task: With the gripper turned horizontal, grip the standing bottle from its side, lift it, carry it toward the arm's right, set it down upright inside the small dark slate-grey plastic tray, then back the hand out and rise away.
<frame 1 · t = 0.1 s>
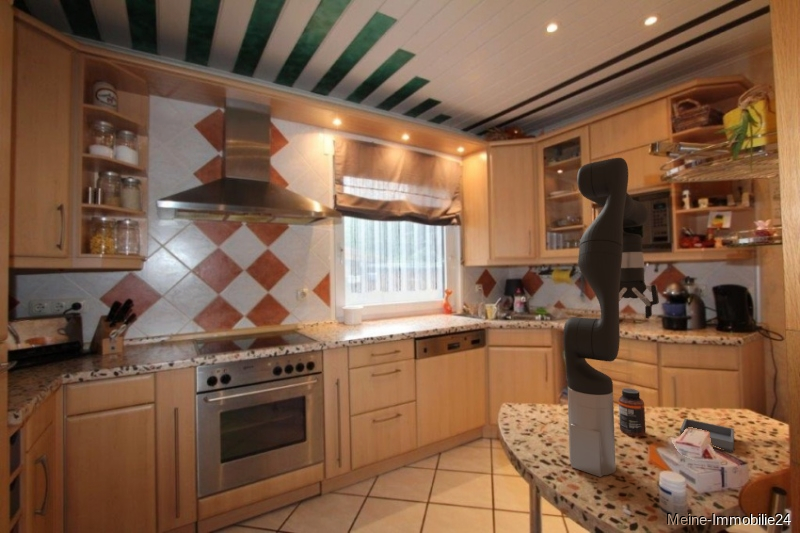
hand: (631, 317, 113), 29 cm above the counter, tool pointing down, fingers open, 8 cm apart
supplement bottle: (632, 433, 96), on the counter
slate tray: (707, 439, 92), on the counter
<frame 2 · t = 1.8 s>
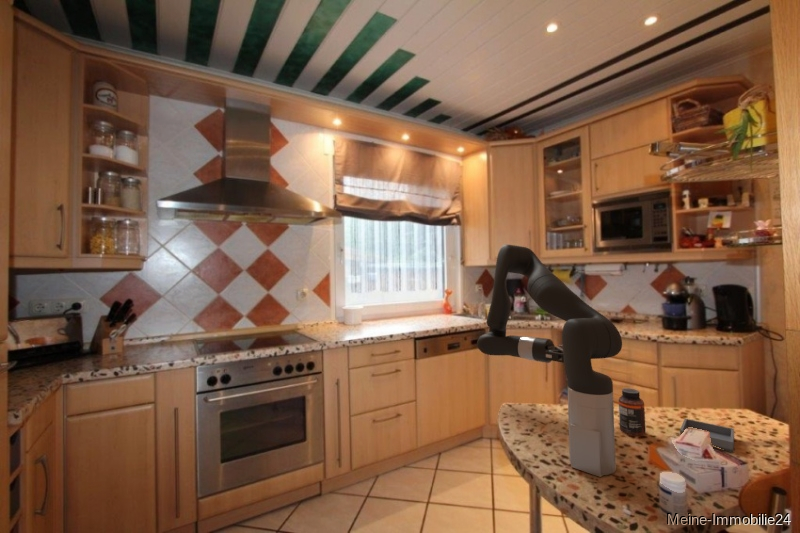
hand: (589, 356, 104), 19 cm above the counter, tool horizontal, fingers open, 8 cm apart
nothing on the counter moved.
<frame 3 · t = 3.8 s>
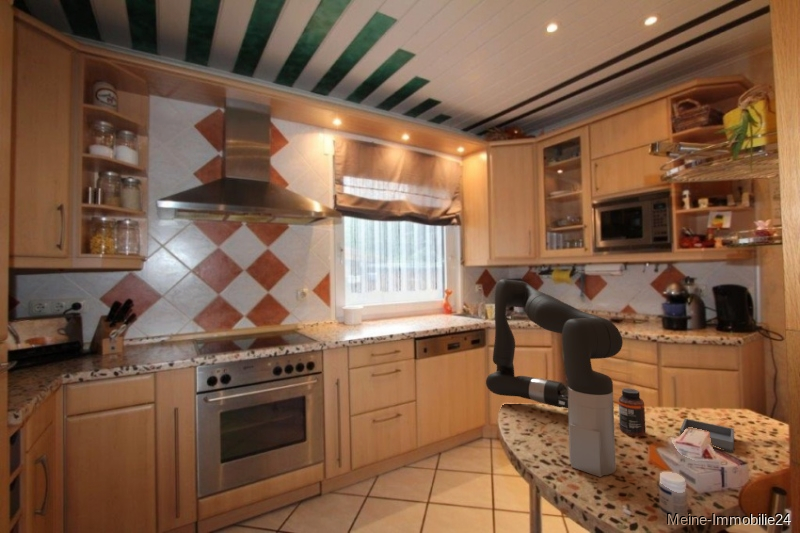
hand: (604, 404, 101), 6 cm above the counter, tool horizontal, fingers open, 8 cm apart
nothing on the counter moved.
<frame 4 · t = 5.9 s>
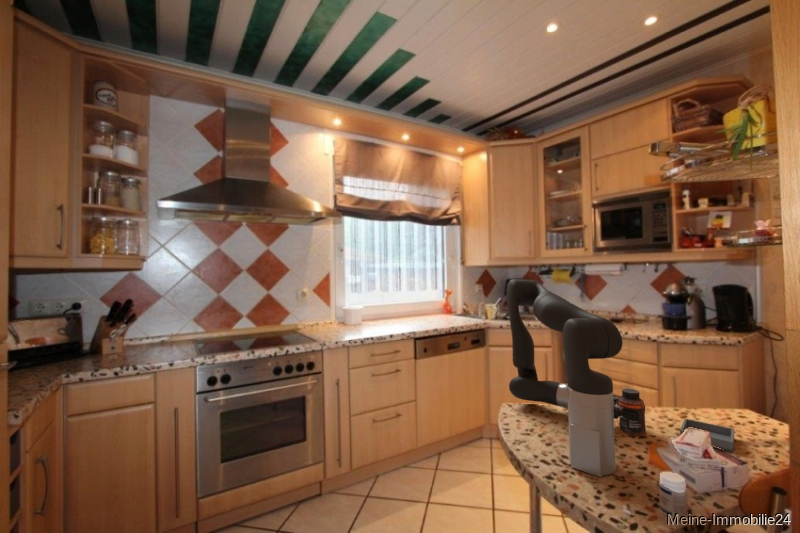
hand: (642, 412, 95), 6 cm above the counter, tool horizontal, fingers closed on supplement bottle, 6 cm apart
supplement bottle: (632, 432, 96), on the counter, touching gripper
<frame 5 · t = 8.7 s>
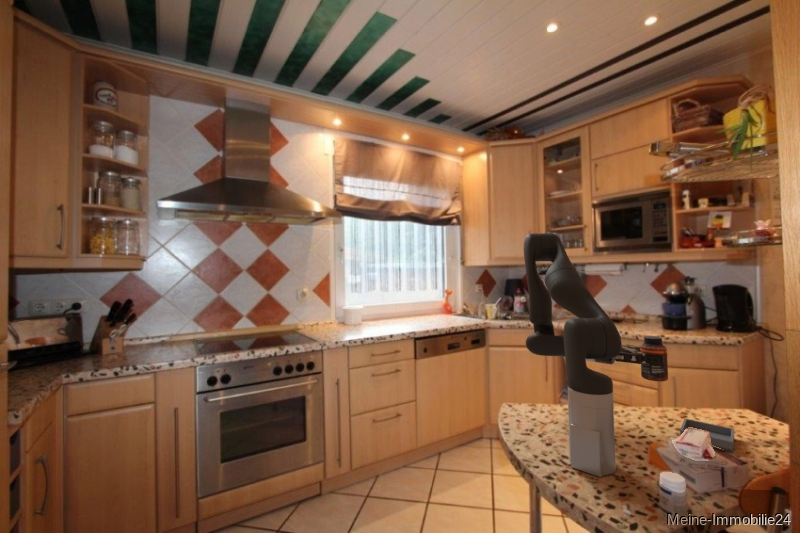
hand: (665, 357, 94), 21 cm above the counter, tool horizontal, fingers closed on supplement bottle, 6 cm apart
supplement bottle: (654, 379, 95), point 14 cm above the counter, touching gripper
when the fingers open (8 cm above the counter, at t = 11.7 s): supplement bottle drops 1 cm, resting on slate tray.
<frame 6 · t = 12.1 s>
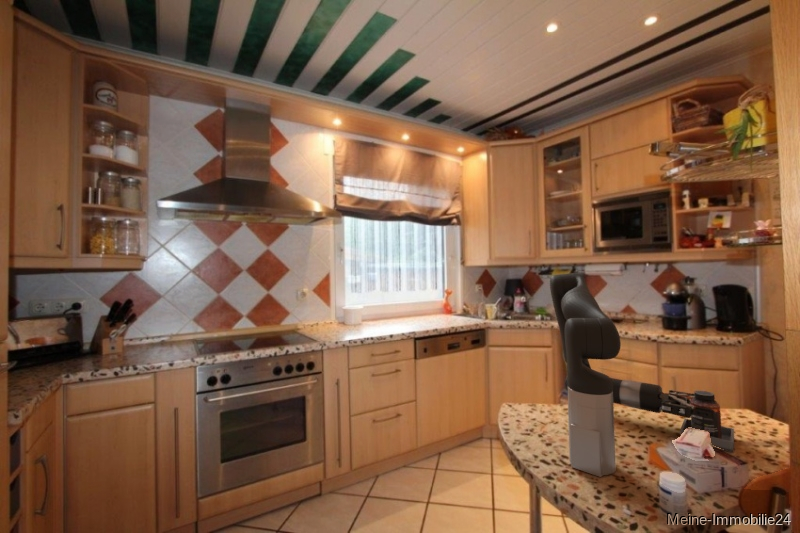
hand: (715, 409, 90), 8 cm above the counter, tool horizontal, fingers open, 8 cm apart
supplement bottle: (706, 437, 92), resting on slate tray
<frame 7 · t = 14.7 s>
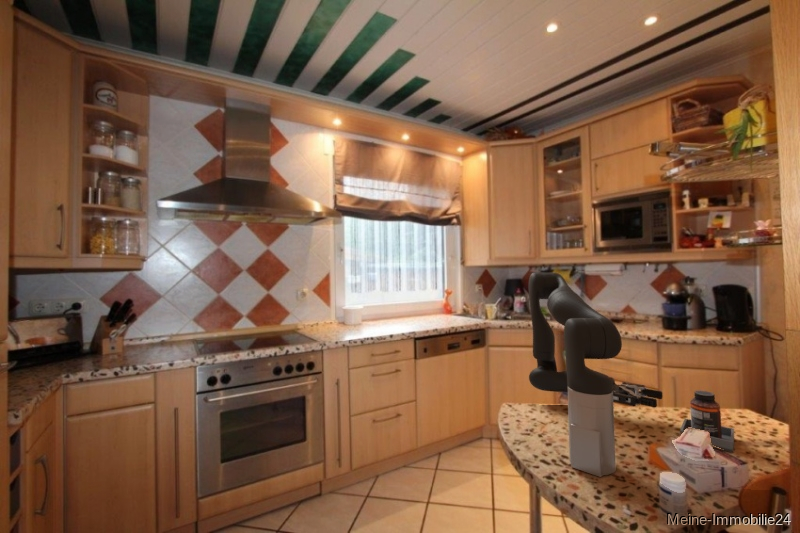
hand: (659, 399, 99), 8 cm above the counter, tool horizontal, fingers open, 8 cm apart
nothing on the counter moved.
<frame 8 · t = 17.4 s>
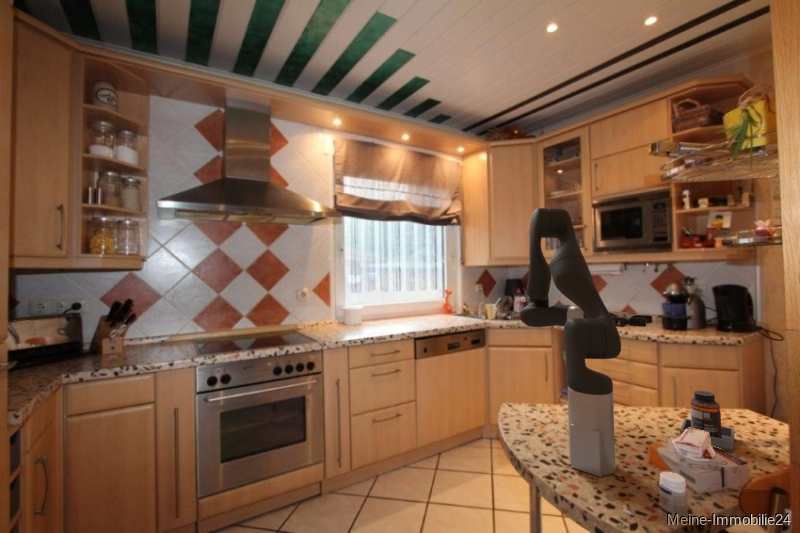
hand: (649, 321, 98), 30 cm above the counter, tool horizontal, fingers open, 8 cm apart
nothing on the counter moved.
at the end: supplement bottle 0.2 cm off-centre on the slate tray, point 0.4 cm above the slate tray's base; supplement bottle tilted 0°; the gripper is holding nothing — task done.
